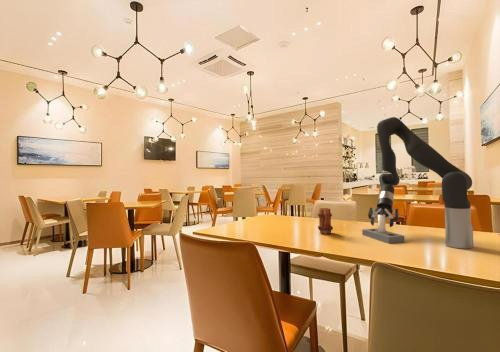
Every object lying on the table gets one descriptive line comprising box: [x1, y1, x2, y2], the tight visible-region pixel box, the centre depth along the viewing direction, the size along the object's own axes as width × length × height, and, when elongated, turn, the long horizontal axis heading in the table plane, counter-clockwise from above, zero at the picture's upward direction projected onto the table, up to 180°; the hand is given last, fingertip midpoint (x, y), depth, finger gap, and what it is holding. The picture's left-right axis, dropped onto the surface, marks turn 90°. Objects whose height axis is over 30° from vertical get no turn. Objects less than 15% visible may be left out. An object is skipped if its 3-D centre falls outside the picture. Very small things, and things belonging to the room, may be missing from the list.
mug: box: [317, 207, 334, 235], centre depth 152 cm, size 15×8×15 cm, turn 172°
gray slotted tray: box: [361, 227, 406, 244], centre depth 140 cm, size 9×20×3 cm, turn 13°
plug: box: [377, 209, 387, 233], centre depth 140 cm, size 3×3×15 cm
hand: (381, 225), depth 139 cm, fingers open, 8 cm apart
